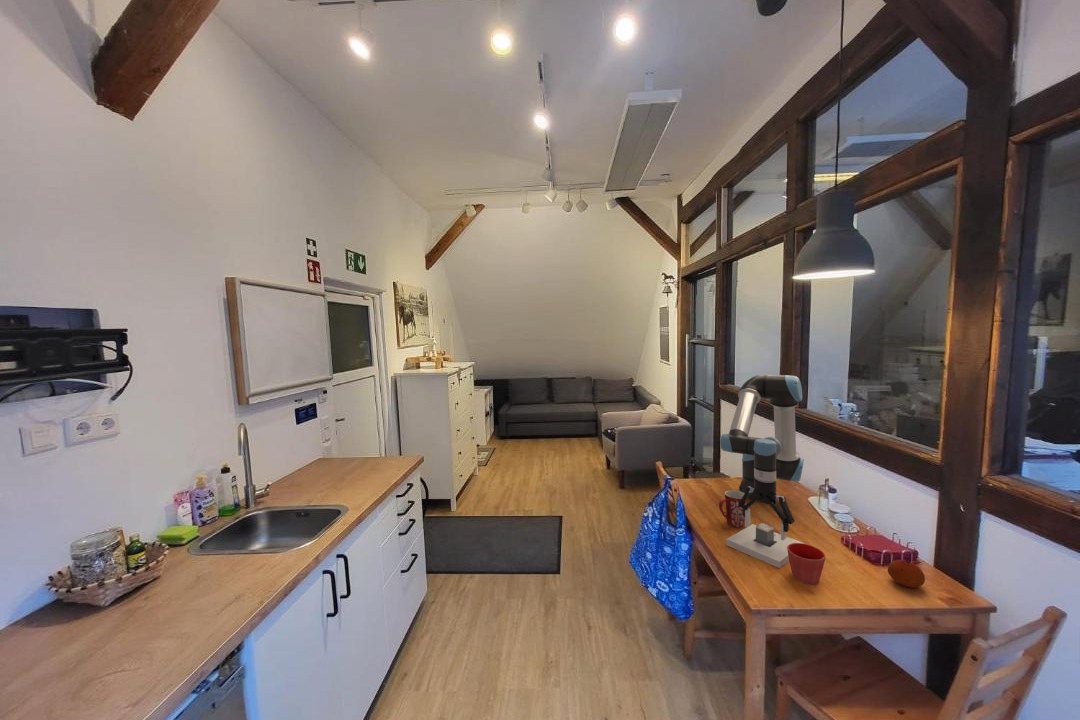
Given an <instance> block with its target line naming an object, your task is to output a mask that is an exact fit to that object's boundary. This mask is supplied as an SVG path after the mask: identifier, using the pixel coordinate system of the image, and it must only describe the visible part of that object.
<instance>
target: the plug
mask: <svg viewBox="0 0 1080 720" xmlns="http://www.w3.org/2000/svg"><path fill="white" fill-rule="evenodd" d="M774 532H775V527H773V526H771V525H769V524H766V523H763V522H761V523H760V524H756V542H757V543H760V544H762V545H765V546H767V547H771V546H772V545H774Z"/></svg>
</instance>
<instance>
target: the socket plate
mask: <svg viewBox="0 0 1080 720" xmlns="http://www.w3.org/2000/svg"><path fill="white" fill-rule="evenodd" d="M756 526H757V524H754V523H751V524H750V525H749V526H748V527H745V528H744V529H742V530H740V531H738V532H736V533H735V534H733V535H731V536H729V537H727V538H726V546H727V547H730V548H732V549H735V550H737V551H740V552H741V553H744V554H746V555H748V556H751V557H753V558H755V559H757V560H759V561H762V562H764V563H767V564H769V565H771V566H774V567H776V568H778V569H781V568H782V567H784V566H785V565H786V564H787V563H790V562H789V557H788V551H787V546H788V545H789V544H792V543H803V544H806V543H805V542H802V541H800V540H797V539H795V538H792V537H789V536H786V539H784V540H781V533H778V532H775V531H774V545H772V546H771V547H767V546H765V545H762V544H760V543H757V542H756Z"/></svg>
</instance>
